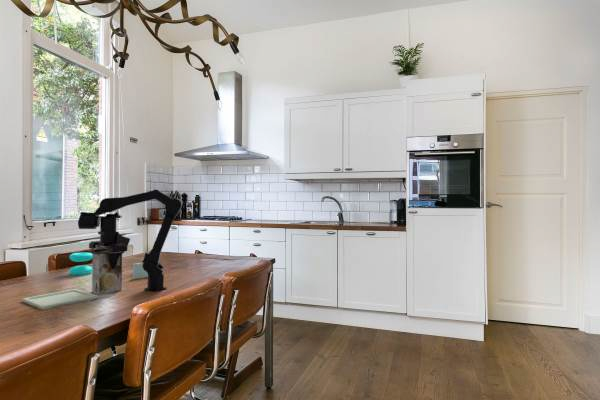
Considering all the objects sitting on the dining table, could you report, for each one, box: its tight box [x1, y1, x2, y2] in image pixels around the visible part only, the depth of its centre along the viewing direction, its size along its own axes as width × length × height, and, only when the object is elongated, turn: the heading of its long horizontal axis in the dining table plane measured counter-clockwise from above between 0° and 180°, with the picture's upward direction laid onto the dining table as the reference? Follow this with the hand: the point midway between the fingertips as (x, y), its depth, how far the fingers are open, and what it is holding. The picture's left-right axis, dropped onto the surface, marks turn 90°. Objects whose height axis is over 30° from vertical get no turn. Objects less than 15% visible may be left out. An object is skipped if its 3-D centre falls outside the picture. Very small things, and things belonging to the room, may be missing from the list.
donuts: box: [68, 252, 93, 276], centre depth 180 cm, size 10×10×10 cm
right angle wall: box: [132, 262, 148, 280], centre depth 180 cm, size 12×12×8 cm
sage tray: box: [22, 288, 98, 311], centre depth 135 cm, size 16×18×1 cm
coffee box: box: [91, 251, 123, 295], centre depth 149 cm, size 9×6×16 cm
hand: (107, 267), depth 149 cm, fingers open, 8 cm apart
